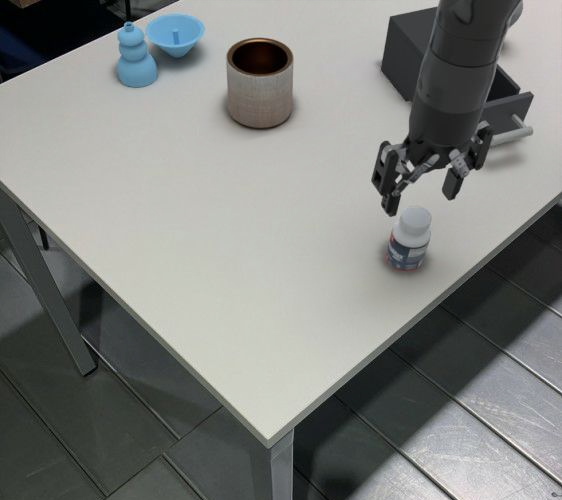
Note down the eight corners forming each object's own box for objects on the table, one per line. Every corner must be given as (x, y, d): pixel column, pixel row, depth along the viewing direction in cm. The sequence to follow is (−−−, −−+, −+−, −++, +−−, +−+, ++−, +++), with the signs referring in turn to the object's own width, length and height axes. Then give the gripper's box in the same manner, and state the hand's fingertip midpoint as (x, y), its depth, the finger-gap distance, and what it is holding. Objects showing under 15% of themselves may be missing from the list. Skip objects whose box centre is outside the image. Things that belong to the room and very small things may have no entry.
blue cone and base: (180, 30, 117) (174, -20, 110) (218, 54, 114) (215, 3, 106) (104, 70, 110) (92, 19, 103) (142, 97, 107) (133, 46, 99)
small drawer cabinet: (482, 102, 108) (500, 48, 100) (419, 117, 106) (432, 64, 97) (441, 55, 115) (454, 2, 107) (380, 69, 113) (389, 16, 104)
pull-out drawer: (533, 156, 100) (552, 113, 93) (472, 173, 97) (487, 130, 91) (474, 90, 108) (488, 47, 102) (417, 104, 106) (427, 61, 99)
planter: (218, 99, 107) (215, 45, 99) (276, 84, 110) (277, 30, 101) (242, 137, 102) (241, 83, 94) (302, 121, 104) (305, 67, 96)
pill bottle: (378, 253, 90) (389, 207, 82) (410, 243, 91) (423, 197, 83) (395, 279, 87) (407, 234, 79) (428, 269, 88) (443, 224, 81)
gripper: (409, 124, 62) (382, 238, 76) (528, 95, 65) (481, 209, 79) (376, 81, 66) (356, 198, 80) (490, 55, 69) (452, 172, 83)
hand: (418, 204), depth 79 cm, fingers open, 8 cm apart
